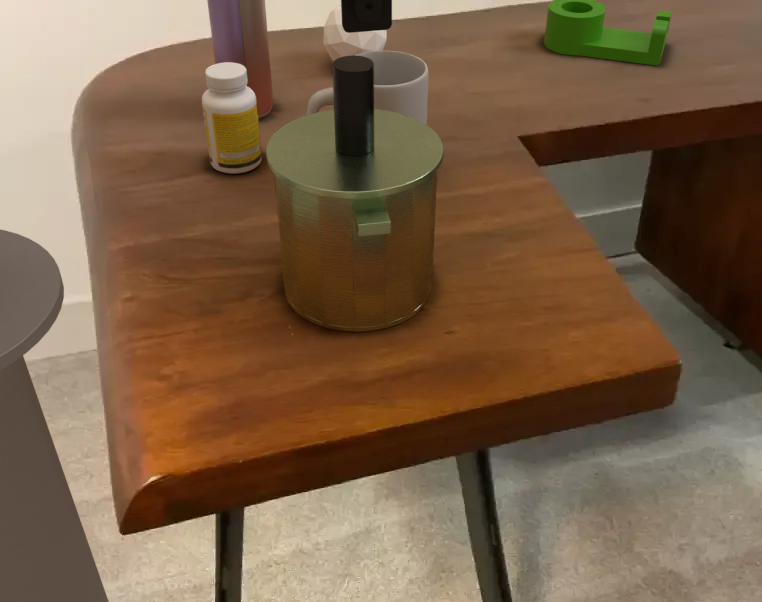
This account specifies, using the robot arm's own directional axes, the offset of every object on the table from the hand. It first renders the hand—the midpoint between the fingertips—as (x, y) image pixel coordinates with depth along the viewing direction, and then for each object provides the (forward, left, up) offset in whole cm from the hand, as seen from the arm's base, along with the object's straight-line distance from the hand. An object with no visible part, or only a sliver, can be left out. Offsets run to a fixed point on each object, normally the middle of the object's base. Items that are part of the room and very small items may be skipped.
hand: (355, 2), depth 63 cm
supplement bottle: (-9, +24, -24) cm, 35 cm away
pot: (0, 0, -24) cm, 24 cm away
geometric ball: (+7, +46, -24) cm, 52 cm away
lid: (0, 0, -11) cm, 11 cm away
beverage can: (-7, +36, -24) cm, 44 cm away
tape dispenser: (+39, +46, -24) cm, 65 cm away
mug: (+4, +19, -24) cm, 31 cm away
